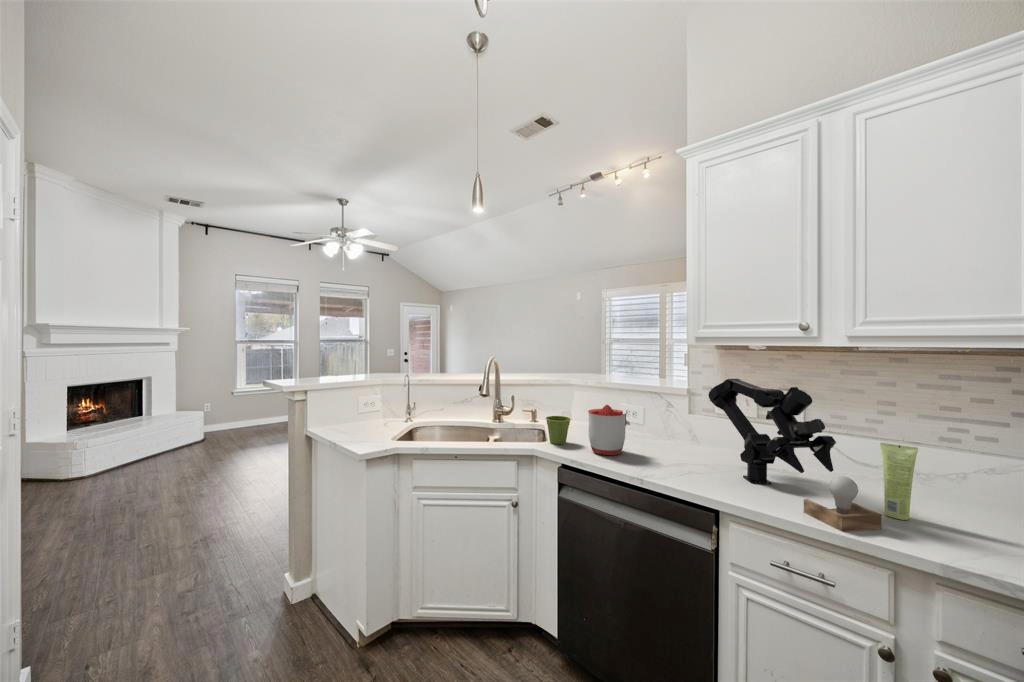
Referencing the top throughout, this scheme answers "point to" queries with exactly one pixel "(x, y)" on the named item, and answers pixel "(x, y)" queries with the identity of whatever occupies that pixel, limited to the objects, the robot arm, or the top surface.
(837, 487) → the lightbulb
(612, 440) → the citrus juicer
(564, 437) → the plant pot
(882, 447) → the tube
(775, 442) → the robot arm
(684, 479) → the top surface
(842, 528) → the u rest
